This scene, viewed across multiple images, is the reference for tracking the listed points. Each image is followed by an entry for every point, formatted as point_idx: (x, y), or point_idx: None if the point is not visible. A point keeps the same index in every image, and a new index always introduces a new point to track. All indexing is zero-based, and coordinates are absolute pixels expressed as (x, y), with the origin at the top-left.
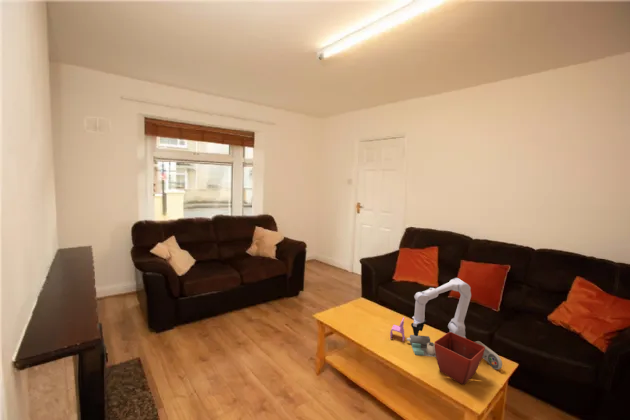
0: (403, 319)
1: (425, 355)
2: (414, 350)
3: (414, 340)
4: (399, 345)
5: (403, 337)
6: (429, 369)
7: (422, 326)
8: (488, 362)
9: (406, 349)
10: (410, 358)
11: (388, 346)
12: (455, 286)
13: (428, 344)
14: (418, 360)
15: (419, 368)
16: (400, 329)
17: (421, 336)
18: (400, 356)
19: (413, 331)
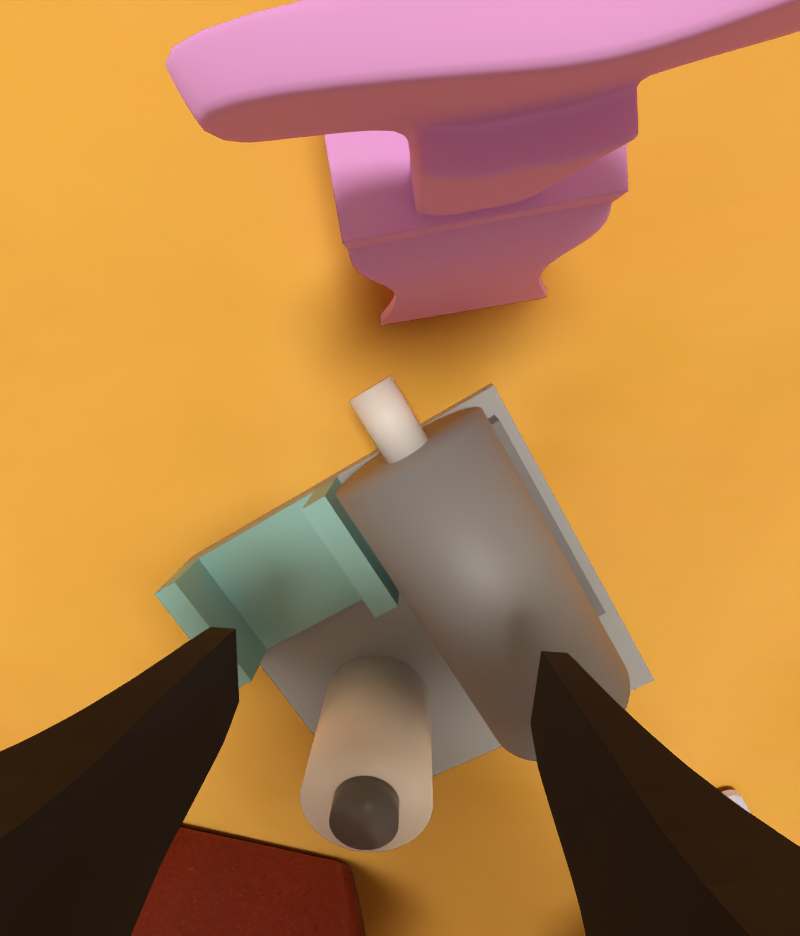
0: (447, 55)
1: (269, 667)
2: (252, 540)
3: (362, 534)
4: (276, 294)
5: (439, 293)
6: None
7: (578, 880)
8: None
9: (253, 420)
10: (102, 525)
11: (113, 148)
12: None
13: (345, 768)
14: (142, 611)
15: (13, 654)
16: (409, 172)
17: (502, 645)
18: (34, 407)
19: (127, 687)
